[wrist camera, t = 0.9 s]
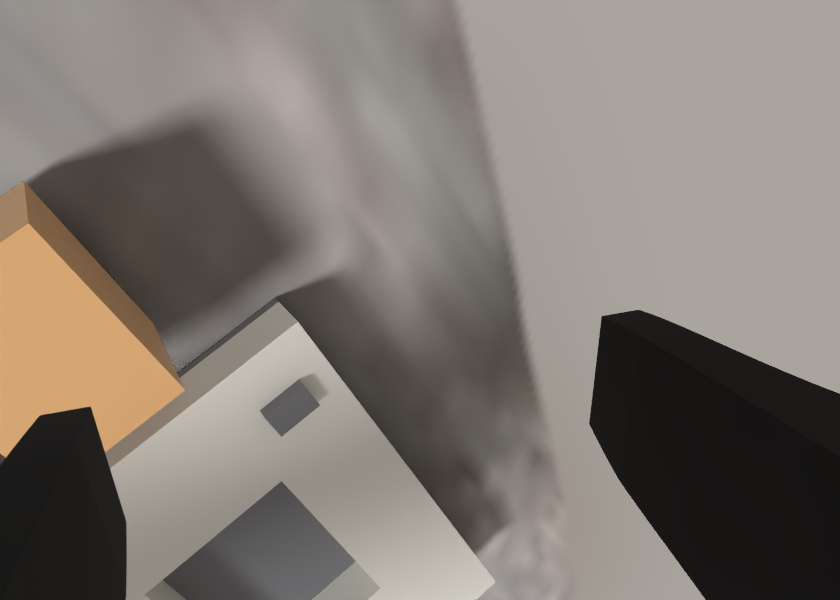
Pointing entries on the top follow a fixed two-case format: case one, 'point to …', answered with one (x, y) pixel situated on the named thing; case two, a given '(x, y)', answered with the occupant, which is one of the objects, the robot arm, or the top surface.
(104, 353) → the plug
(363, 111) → the top surface
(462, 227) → the top surface
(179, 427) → the white cutout panel
